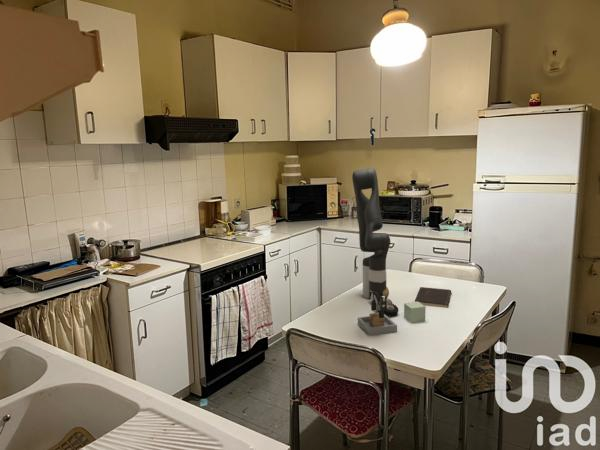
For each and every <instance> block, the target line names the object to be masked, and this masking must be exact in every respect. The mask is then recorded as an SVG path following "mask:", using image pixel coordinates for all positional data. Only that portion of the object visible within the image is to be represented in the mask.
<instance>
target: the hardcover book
mask: <svg viewBox="0 0 600 450" xmlns="http://www.w3.org/2000/svg"><path fill="white" fill-rule="evenodd" d="M451 295H452V290H451V289H447V288H446V289H445V288H436V287H435V288H434V287H425V286H423V287H421V286H420V287H419V289H418V291H417V294H416V297H415V299H414V302H420V303H421V304H422V305H424V306H429V307H436V308H445V309H446V308H447V309H448V308H449V305H450V301H451Z"/></svg>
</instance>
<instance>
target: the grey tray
mask: <svg viewBox="0 0 600 450" xmlns="http://www.w3.org/2000/svg"><path fill="white" fill-rule="evenodd" d="M384 317H385V326H378V327H372V326H371V325H370V324H369V315H367V316H360V317H357V325H358V326H359V327H360V328H361V329H362V330H363V331H364V332H365V333H366V334H367V335H368V336H375V335H381V334H382V335H383V334H390V333H397V332H398V324H396V323H395V322H394V321H393V320H392V318H390V317H389V316H386V315H385V314H384Z"/></svg>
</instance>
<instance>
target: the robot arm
mask: <svg viewBox="0 0 600 450" xmlns="http://www.w3.org/2000/svg"><path fill="white" fill-rule="evenodd" d="M351 175H352V176H351V178H352V179H351V180H352V186H353V192H354V196H355V205H356V208H355V209H356V217H357V223H358V224H357V225H358V236H359V238H358V239H359V242H358V243H359V248H360V251H361V252H364V253H373V254H371V255H370V256H367V257H364V258H363V259H362V297H363V298H365V299H368V300H369V301H370V308H371V309H370V311H372V312H376V304H377V305H378V308H379V310H378V313H379V318H384V310H387V298H388V297H386V296H384V295H383V291H384V290H386V287H387V267H386V266H387V257H388V252H389V249H390V246H391V237H390V236H389V234H388V233H386V232H380V233H379V232H378V233H375V232H377V231H379V230H382V228H383V219H382V214H381V209H380V208H381V207H380V206H381V205H380V192H379V184H378V183H379V180H378V176H377V175H378V174H377V171H376V169H375V168H373V167H369V168H362V169H355V170H354V171H353V172H352V174H351ZM369 189H371V194H370V197H369V198H368V197H367V196H366V195H365V193H363V190H369ZM379 302H380V303H379ZM384 305H385V306H384ZM382 306H383V307H382Z"/></svg>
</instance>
